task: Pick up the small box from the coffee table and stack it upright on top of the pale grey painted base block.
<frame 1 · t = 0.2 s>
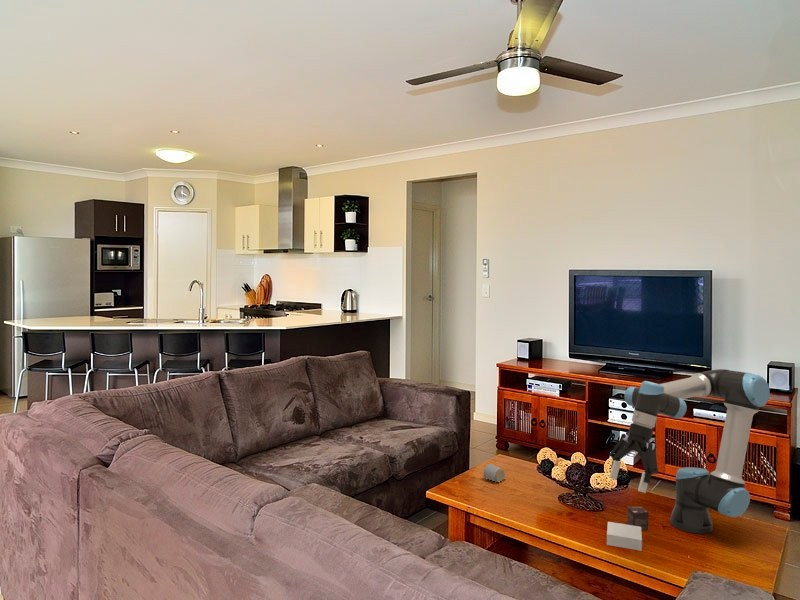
hand: (626, 485, 193), 28 cm above the table, tool tilted 20°, fingers open, 13 cm apart
ceramic mug: (495, 480, 275), on the table
base block: (624, 540, 211), on the table
box: (637, 527, 223), on the table
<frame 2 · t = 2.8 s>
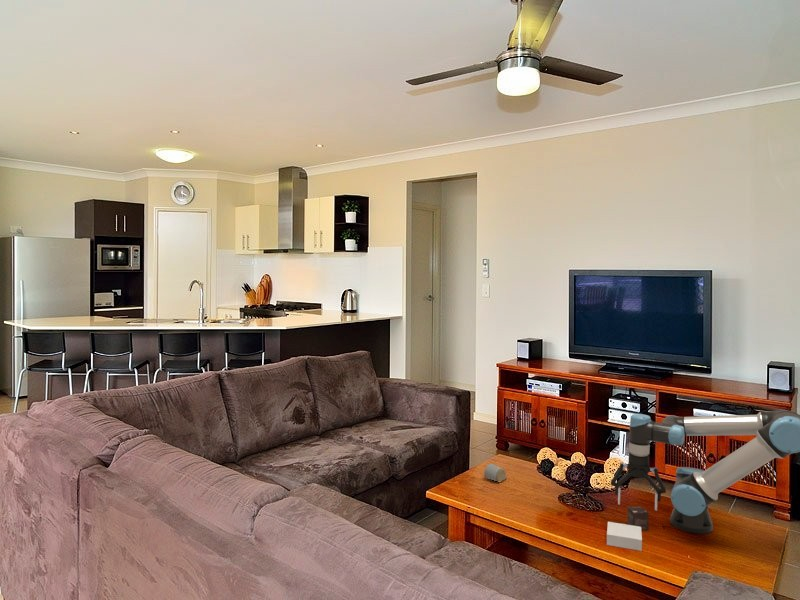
hand: (637, 506, 223), 8 cm above the table, tool pointing down, fingers open, 13 cm apart
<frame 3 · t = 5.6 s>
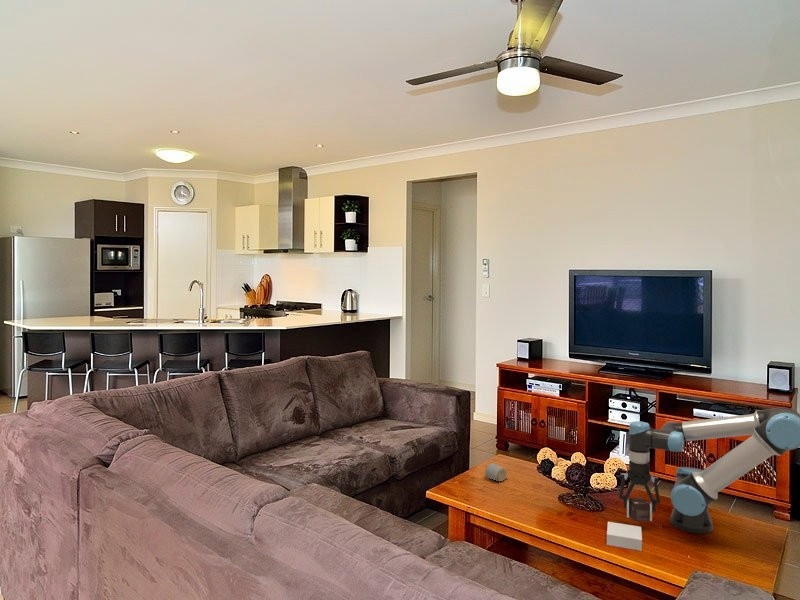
hand: (639, 517, 223), 4 cm above the table, tool pointing down, fingers closed on box, 8 cm apart
box: (639, 519, 223), point 3 cm above the table, touching gripper
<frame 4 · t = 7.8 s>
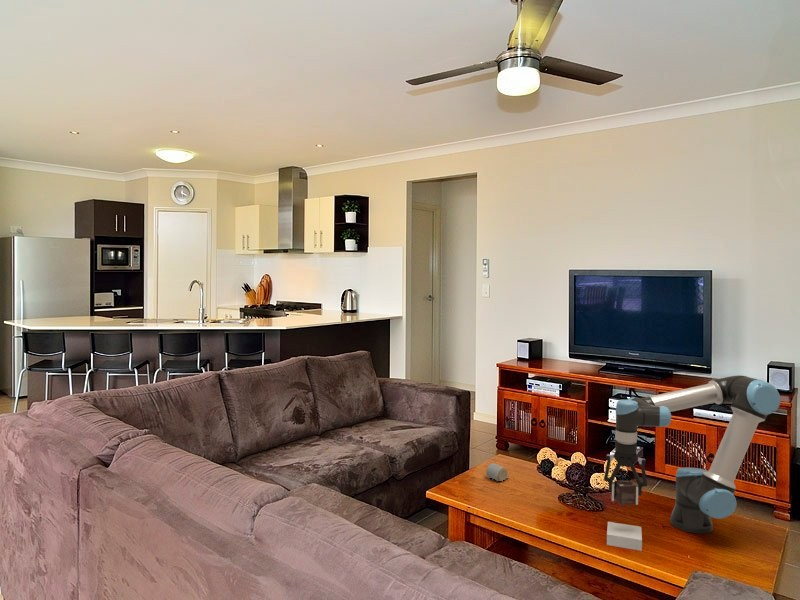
hand: (624, 501, 211), 15 cm above the table, tool pointing down, fingers closed on box, 8 cm apart
box: (624, 502, 211), point 15 cm above the table, touching gripper
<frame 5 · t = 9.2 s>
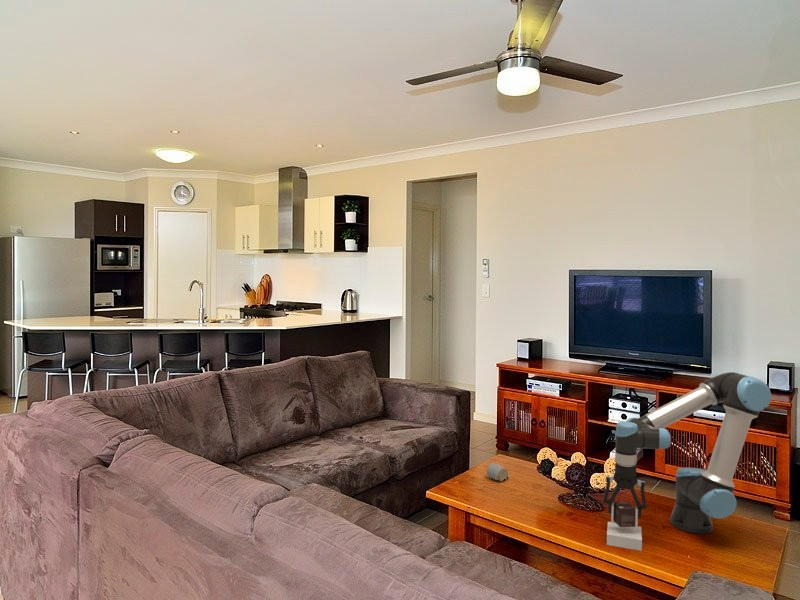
hand: (624, 523, 211), 7 cm above the table, tool pointing down, fingers closed on box, 8 cm apart
box: (624, 524, 211), point 6 cm above the table, touching gripper
when the fingers open (6 cm above the table, at t = 10.2 s): box drops 1 cm, resting on base block.
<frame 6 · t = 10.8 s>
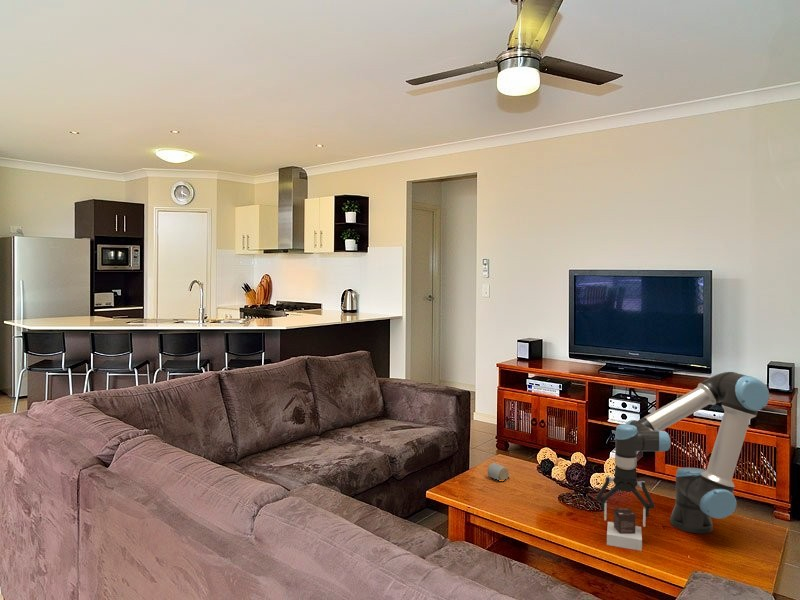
hand: (624, 522, 211), 7 cm above the table, tool pointing down, fingers open, 13 cm apart
box: (624, 530, 211), point 4 cm above the table, touching base block
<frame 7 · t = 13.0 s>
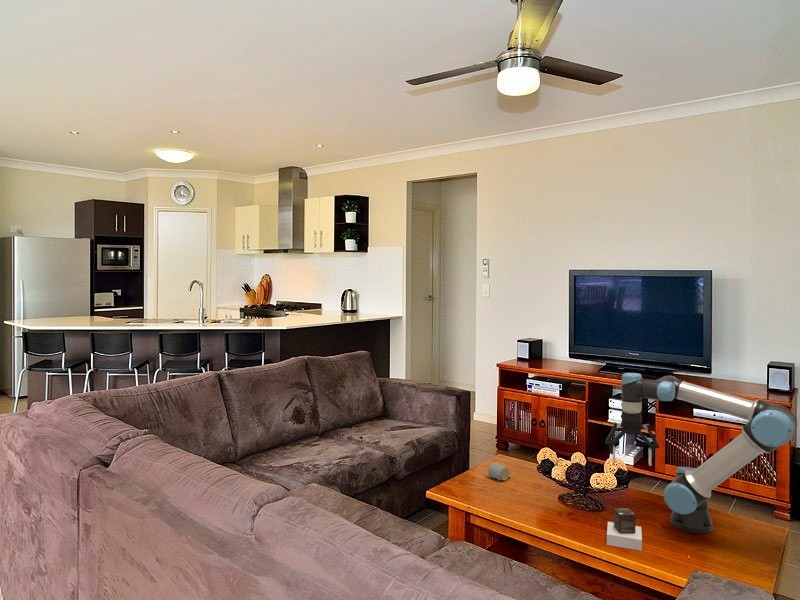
hand: (631, 463, 227), 24 cm above the table, tool pointing down, fingers open, 13 cm apart
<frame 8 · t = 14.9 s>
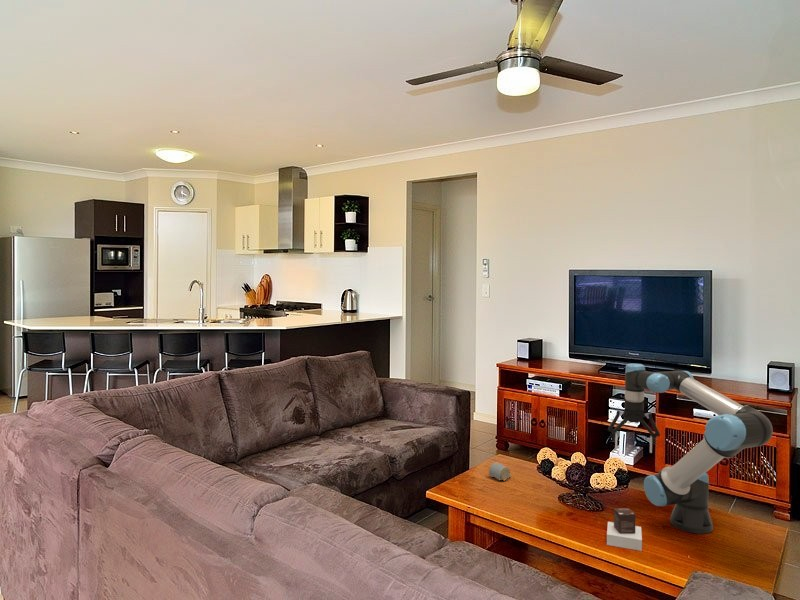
hand: (633, 450, 237), 27 cm above the table, tool pointing down, fingers open, 13 cm apart
at the end: box 0.2 cm off-centre on the base block, point 3.8 cm above the base block's base; box tilted 0°; the gripper is holding nothing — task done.
